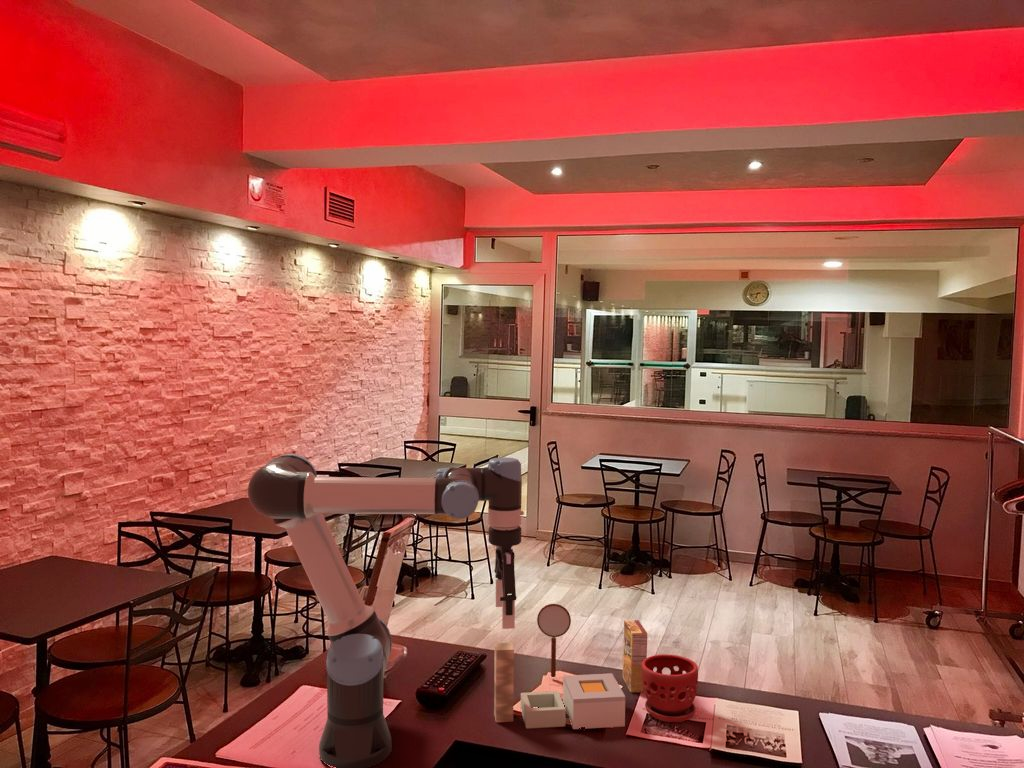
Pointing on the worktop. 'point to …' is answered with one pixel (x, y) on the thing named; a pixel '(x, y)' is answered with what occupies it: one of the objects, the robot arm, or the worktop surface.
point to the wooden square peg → (503, 682)
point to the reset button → (592, 687)
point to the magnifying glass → (553, 627)
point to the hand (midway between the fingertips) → (504, 616)
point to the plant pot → (669, 687)
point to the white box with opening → (594, 702)
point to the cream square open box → (542, 709)
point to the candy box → (634, 654)
